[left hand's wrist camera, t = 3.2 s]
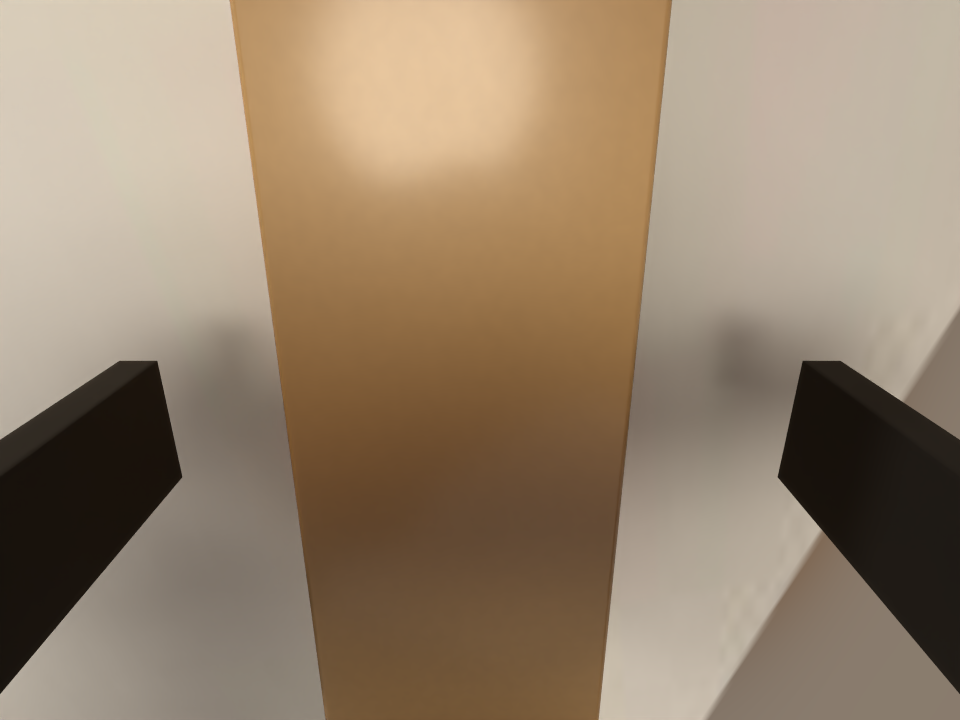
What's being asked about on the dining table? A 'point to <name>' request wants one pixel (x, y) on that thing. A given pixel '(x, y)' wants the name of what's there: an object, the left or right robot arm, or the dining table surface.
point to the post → (456, 331)
